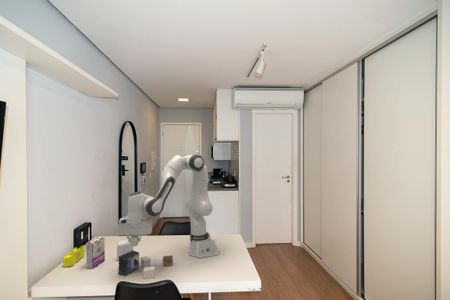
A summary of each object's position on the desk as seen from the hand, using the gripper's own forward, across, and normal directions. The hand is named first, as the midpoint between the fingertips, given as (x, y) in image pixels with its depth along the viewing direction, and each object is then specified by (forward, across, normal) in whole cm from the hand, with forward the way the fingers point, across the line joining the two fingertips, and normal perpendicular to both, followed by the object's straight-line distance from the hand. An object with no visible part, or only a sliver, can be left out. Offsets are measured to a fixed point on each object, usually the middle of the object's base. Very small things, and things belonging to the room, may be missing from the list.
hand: (134, 241), depth 144 cm
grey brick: (+18, -6, -6) cm, 20 cm away
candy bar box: (+19, +26, -15) cm, 35 cm away
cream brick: (+18, -10, +8) cm, 22 cm away
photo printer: (+19, +9, -19) cm, 28 cm away
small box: (+19, +3, -1) cm, 19 cm away
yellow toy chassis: (+20, +41, -22) cm, 50 cm away
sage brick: (+2, 0, 0) cm, 2 cm away
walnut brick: (+18, -20, -5) cm, 27 cm away
